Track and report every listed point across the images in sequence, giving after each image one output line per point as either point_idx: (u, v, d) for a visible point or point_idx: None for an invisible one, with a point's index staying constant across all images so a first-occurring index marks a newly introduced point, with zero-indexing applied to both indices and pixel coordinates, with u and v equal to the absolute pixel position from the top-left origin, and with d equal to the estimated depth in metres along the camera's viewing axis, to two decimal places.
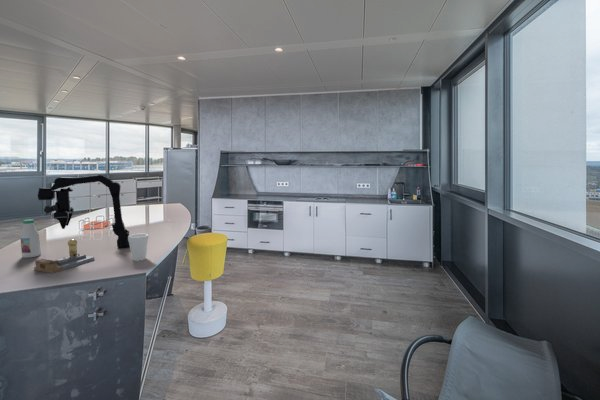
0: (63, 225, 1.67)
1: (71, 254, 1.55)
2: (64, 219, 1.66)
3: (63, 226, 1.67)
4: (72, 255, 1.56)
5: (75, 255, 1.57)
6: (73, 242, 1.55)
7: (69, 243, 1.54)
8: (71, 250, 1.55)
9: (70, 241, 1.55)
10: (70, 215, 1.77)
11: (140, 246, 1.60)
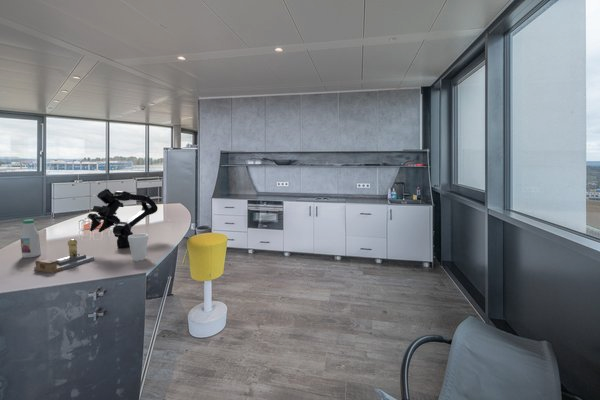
0: (102, 229, 1.68)
1: (71, 254, 1.55)
2: (108, 225, 1.70)
3: (101, 230, 1.68)
4: (72, 255, 1.56)
5: (75, 255, 1.57)
6: (73, 242, 1.55)
7: (69, 243, 1.54)
8: (71, 250, 1.55)
9: (70, 241, 1.55)
10: (98, 224, 1.74)
11: (140, 246, 1.60)
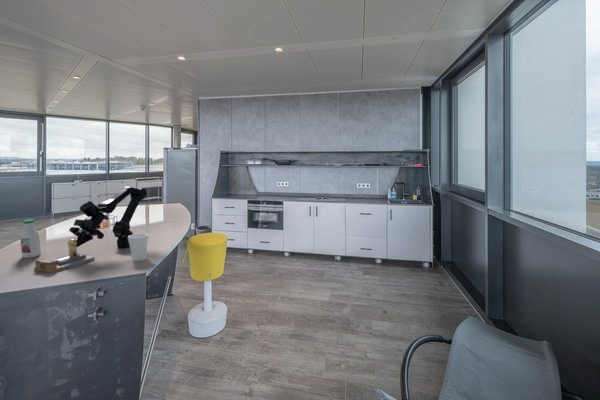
0: (80, 243, 1.59)
1: (71, 254, 1.55)
2: (86, 239, 1.62)
3: (79, 244, 1.59)
4: (72, 255, 1.56)
5: (75, 255, 1.57)
6: (73, 242, 1.55)
7: (69, 243, 1.54)
8: (71, 250, 1.55)
9: (70, 241, 1.55)
10: None
11: (140, 246, 1.60)
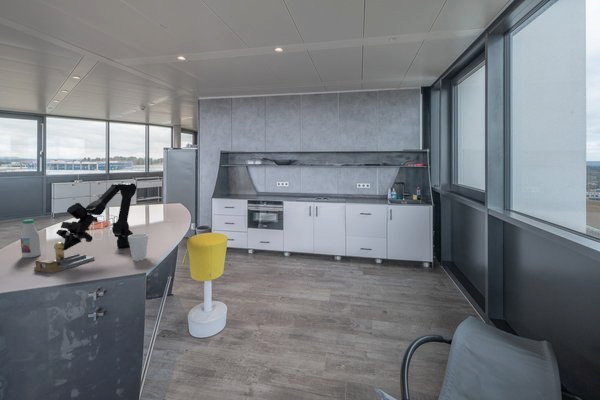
0: (68, 247, 1.53)
1: (58, 258, 1.49)
2: (74, 242, 1.56)
3: (66, 247, 1.53)
4: (59, 259, 1.49)
5: (62, 259, 1.50)
6: (60, 246, 1.49)
7: (55, 247, 1.48)
8: (58, 254, 1.49)
9: (56, 244, 1.49)
10: None
11: (140, 246, 1.60)
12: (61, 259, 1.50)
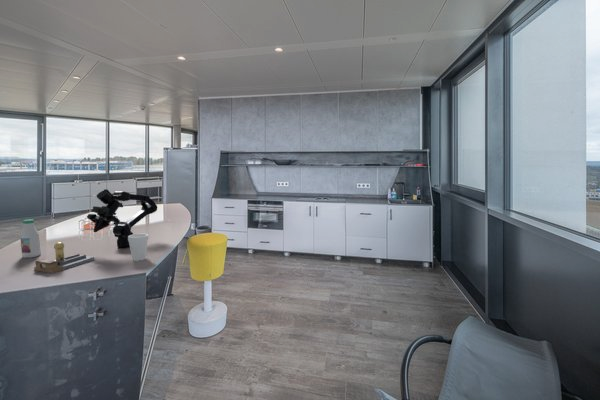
0: (98, 229, 1.69)
1: (58, 258, 1.49)
2: (103, 225, 1.71)
3: (97, 230, 1.68)
4: (59, 259, 1.49)
5: (62, 259, 1.50)
6: (60, 246, 1.49)
7: (55, 247, 1.48)
8: (58, 254, 1.49)
9: (56, 244, 1.48)
10: None
11: (140, 246, 1.60)
12: (61, 259, 1.50)
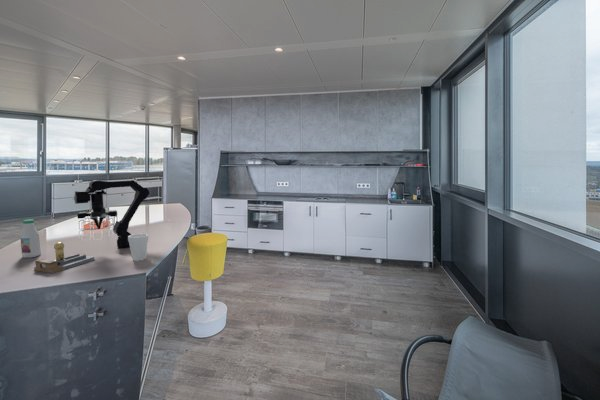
0: (100, 225, 1.77)
1: (58, 258, 1.49)
2: None
3: (100, 226, 1.77)
4: (59, 259, 1.49)
5: (62, 259, 1.50)
6: (60, 246, 1.49)
7: (55, 247, 1.48)
8: (58, 254, 1.49)
9: (56, 244, 1.48)
10: (97, 218, 1.77)
11: (140, 246, 1.60)
12: (61, 259, 1.50)
